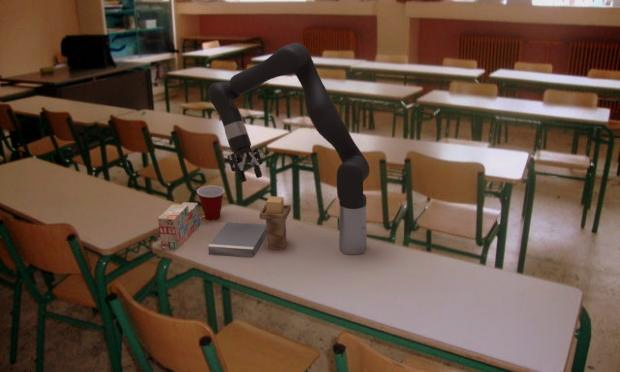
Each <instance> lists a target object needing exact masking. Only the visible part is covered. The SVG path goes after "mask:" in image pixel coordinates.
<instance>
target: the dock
mask: <svg viewBox="0 0 620 372" xmlns="http://www.w3.org/2000/svg"><path fill="white" fill-rule="evenodd" d="M266 237H267V229H266V224H264V223H261V224H259V223H246V222H233V221H232V222H229V221H226V222H225V224H224V225H223V226H222V228H221V229H220V231H219V232H218V233H217V234H216V236H215V237H214V238H213V239H212V241H211V242H210V243H209V244H208V245H207V246H208V255H217V256H230V257H242V258H244V257H245V258H254V257H255V255H256V254H257V252H258V250H259V248H260V247H261V245H262V243H263V241H264V240H265V238H266Z"/></svg>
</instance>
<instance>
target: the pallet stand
mask: <svg viewBox="0 0 620 372" xmlns="http://www.w3.org/2000/svg"><path fill="white" fill-rule="evenodd" d="M291 211H292V205H291V204H284V211H283V213H282V215H281V214H267V209H266V204H265V205H264V206H263V208H262V209H261V211H260V212H259V220H265V225H266V229H267V234H266V246H267V249H270V250H271V249H273V250H284V248H285V246H286V244H287V223H286V221H287V219H288V217H289V214H290V213H291Z"/></svg>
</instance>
